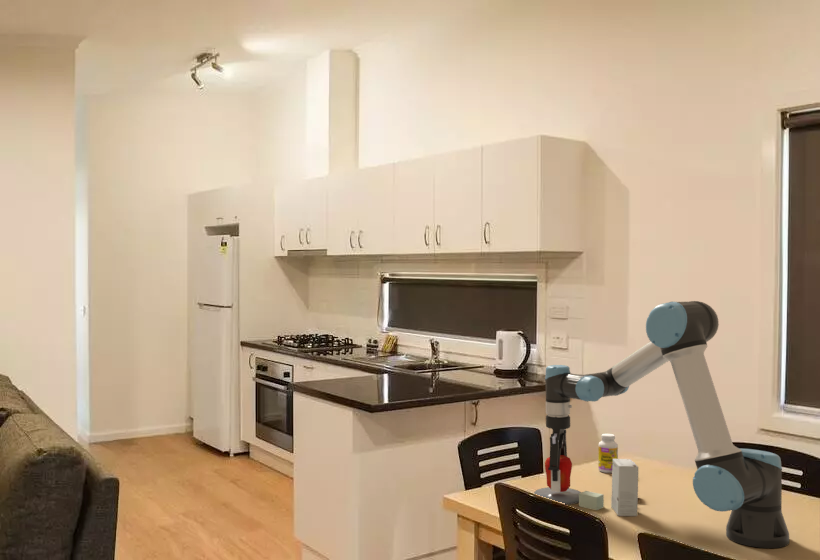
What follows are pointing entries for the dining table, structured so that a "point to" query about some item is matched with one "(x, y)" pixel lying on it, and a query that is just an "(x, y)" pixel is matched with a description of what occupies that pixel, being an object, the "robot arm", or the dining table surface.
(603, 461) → the supplement bottle
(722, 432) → the robot arm
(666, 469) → the dining table surface
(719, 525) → the dining table surface
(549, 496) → the plate
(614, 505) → the skincare box
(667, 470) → the dining table surface
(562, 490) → the red bell pepper
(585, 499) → the sage block
